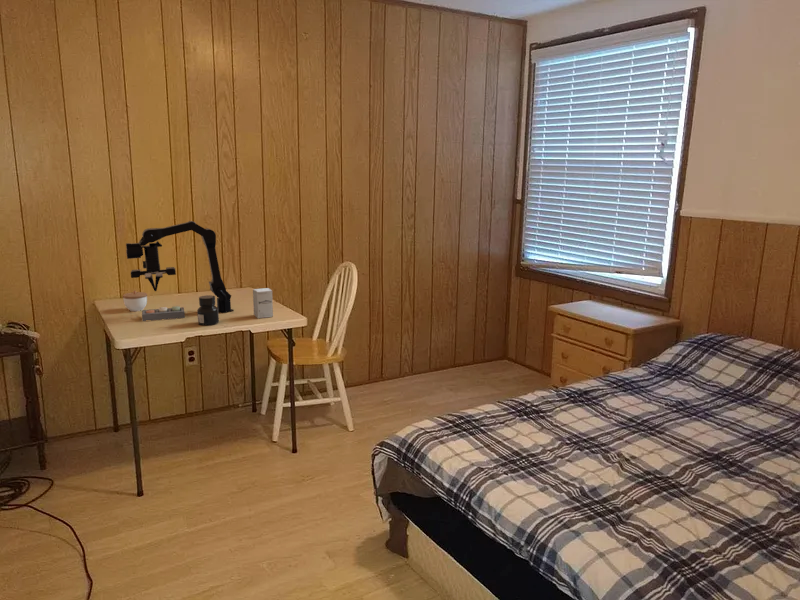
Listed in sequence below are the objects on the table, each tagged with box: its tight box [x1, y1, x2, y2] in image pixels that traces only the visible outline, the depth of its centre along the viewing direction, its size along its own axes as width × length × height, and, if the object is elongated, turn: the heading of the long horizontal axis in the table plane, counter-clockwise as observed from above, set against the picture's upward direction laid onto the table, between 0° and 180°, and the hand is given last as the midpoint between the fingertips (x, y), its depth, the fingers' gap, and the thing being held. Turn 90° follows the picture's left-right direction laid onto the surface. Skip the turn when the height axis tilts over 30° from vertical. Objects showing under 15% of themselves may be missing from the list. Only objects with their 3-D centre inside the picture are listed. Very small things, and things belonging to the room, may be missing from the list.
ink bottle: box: [196, 294, 220, 326], centre depth 270 cm, size 10×9×12 cm
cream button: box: [158, 306, 168, 312], centre depth 280 cm, size 4×4×2 cm
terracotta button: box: [146, 309, 155, 313], centre depth 279 cm, size 4×4×2 cm
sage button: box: [171, 305, 181, 311], centre depth 282 cm, size 4×4×2 cm
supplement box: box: [252, 287, 274, 319], centre depth 283 cm, size 7×7×13 cm
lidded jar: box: [122, 290, 148, 312], centre depth 293 cm, size 11×11×9 cm
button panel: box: [141, 306, 186, 322], centre depth 281 cm, size 18×9×3 cm, turn 111°
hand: (155, 291), depth 277 cm, fingers closed
